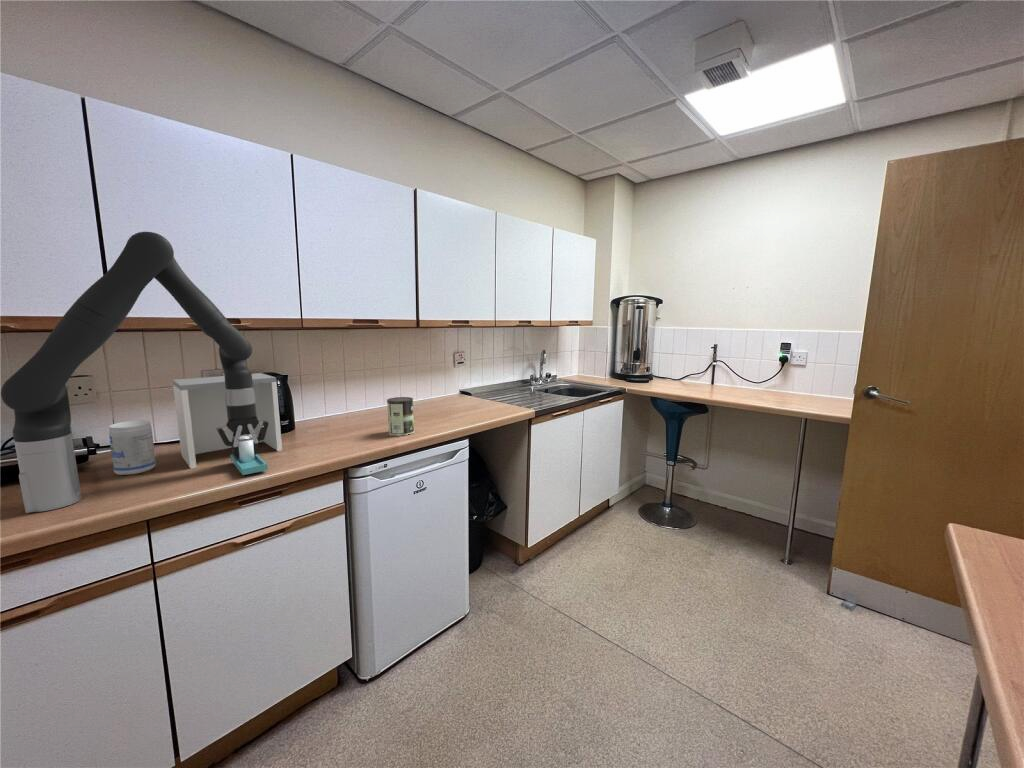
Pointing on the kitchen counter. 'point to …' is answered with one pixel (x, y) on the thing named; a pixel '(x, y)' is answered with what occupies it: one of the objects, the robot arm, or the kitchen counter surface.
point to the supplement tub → (132, 447)
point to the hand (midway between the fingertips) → (246, 455)
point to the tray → (251, 465)
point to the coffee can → (400, 416)
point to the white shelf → (220, 413)
